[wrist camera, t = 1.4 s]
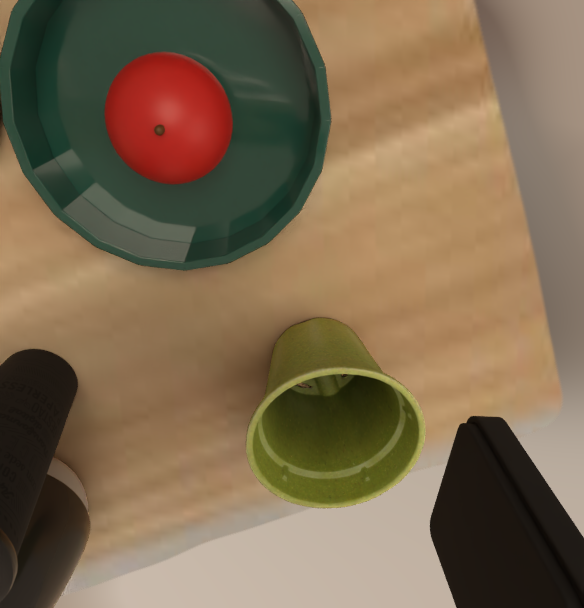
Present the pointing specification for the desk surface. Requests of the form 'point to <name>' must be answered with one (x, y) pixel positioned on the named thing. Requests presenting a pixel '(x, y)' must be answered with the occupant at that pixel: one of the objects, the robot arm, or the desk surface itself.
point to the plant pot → (331, 421)
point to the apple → (168, 118)
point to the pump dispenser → (51, 541)
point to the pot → (108, 164)
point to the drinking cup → (28, 442)
